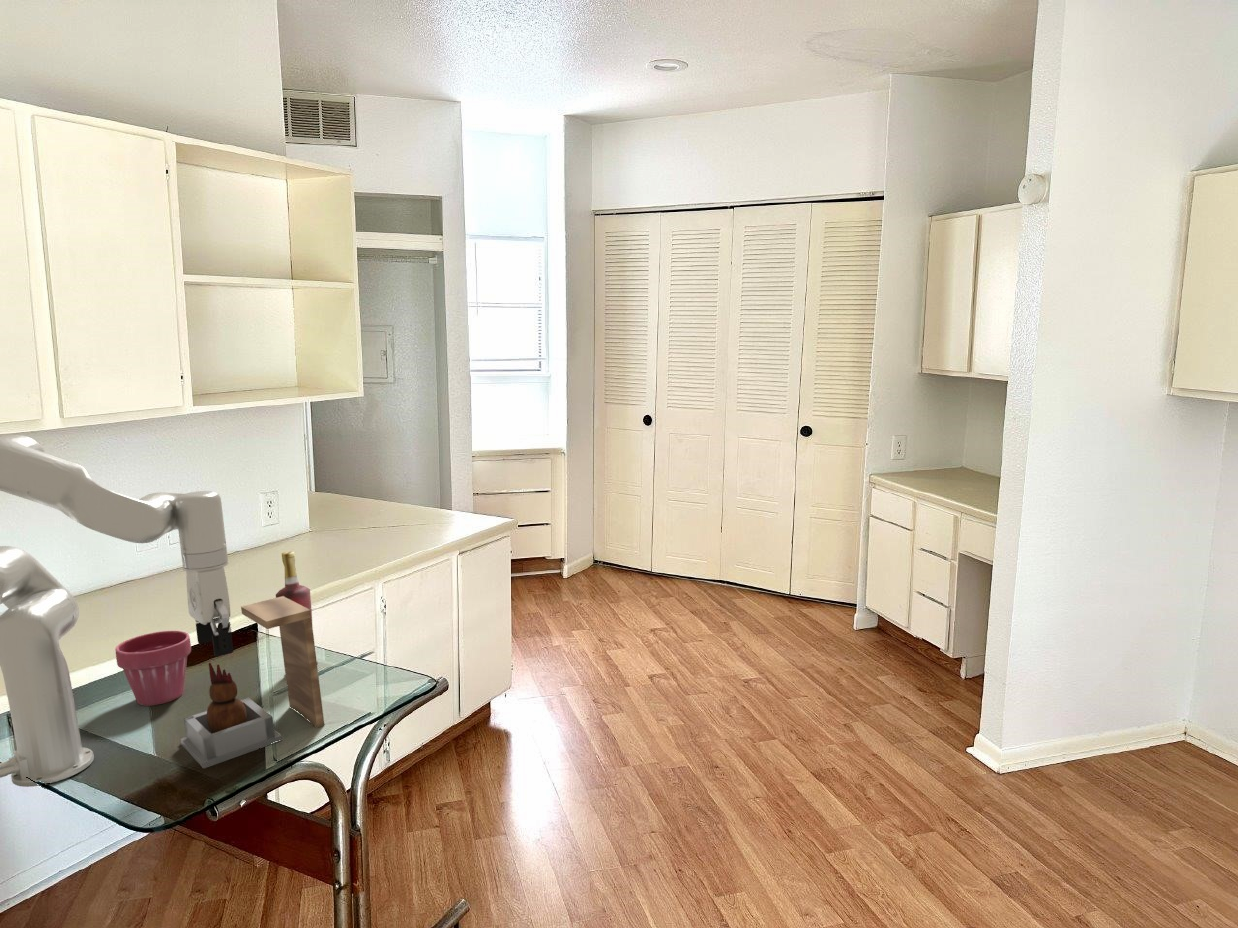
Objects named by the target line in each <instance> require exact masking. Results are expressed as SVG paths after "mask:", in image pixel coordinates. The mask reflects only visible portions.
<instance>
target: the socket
mask: <svg viewBox="0 0 1238 928" xmlns="http://www.w3.org/2000/svg"><path fill="white" fill-rule="evenodd" d="M240 700H241V701H242V702H243V704H244V706H245V709H246V714H247V717H246V722H245V723H242V724H239V725H236V726H233V727H230V728H227V729H224V730H222V731H219V732H216V733H213V734H212V733H211V731H210V729H209V726H208V722H207V710H205V711H202V712H199V713H195V714H193V715H190V716H186V717H184V718H183V720H184V728H185V735H186V737H182V738H180V744H181V745H182V747H183V748H184V749H185V750H186V751H187V752H188V753H189V755H191V757H193V759H194V760H195V761H196V763H198V764H199V766H201V768H202V769H208V768H209V767H212V766H215V765H218V764H221V763H223V762H226V761H230V760H231V759H234V758H237V757H240V756H242V755H246V754H248V753H251V752H255V751H257V750H259V748H260V749H263V748H265V747H267V746H266V745H268V746H270V745H269V744H271V743H273V742H275V741H279V740H281V739H282V740H283V738H282V735H281V733H279V732H278V731H277V730H276V729H275V726H274V717H273V716H272V715H271V714H270V713H269V712H267V711H266V710H265V709H264V708H262V707H261V706H260V705H258V704H257V702H255V701H254V700H253V699H251V698H250V697H246V698H243V699H240ZM279 742H280V741H279ZM271 745H272V744H271Z"/></svg>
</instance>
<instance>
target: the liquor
mask: <svg viewBox="0 0 1238 928" xmlns="http://www.w3.org/2000/svg"><path fill="white" fill-rule="evenodd" d="M281 560H282V563H283V567H284V587H282V588H280V589H279V590H278V591H277V592H276V593H275V598H278V597H282V596H284V597H286V598H288V599H290V600H292V601H294V602H296V603H298V604H300V605H302V606H304V607H306V608H308V609H310V611H311V619H312V620H313V614H312V613H313V612H312V611H313V610H312V609H313V608H312V598H311V588H308V586H305V585H302V584H300V582H299V578H298V572H297V570H296V556H295V551H286V552H282V553H281ZM318 664H319V662H318V661H317V666H318Z"/></svg>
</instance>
